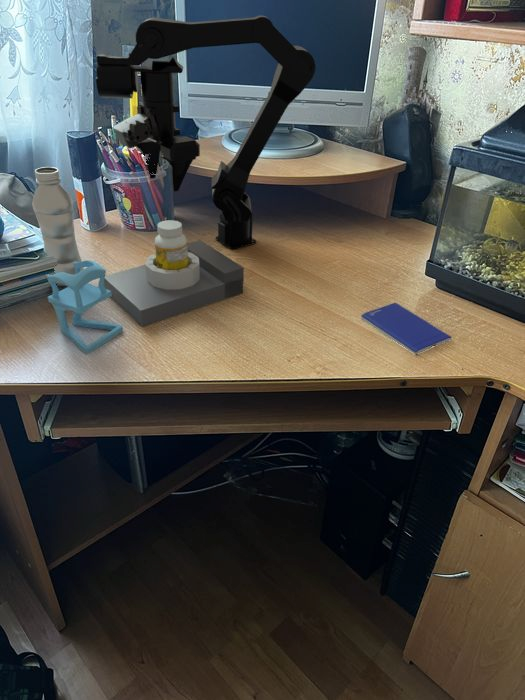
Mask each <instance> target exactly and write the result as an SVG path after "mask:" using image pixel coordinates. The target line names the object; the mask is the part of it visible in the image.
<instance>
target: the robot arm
mask: <svg viewBox="0 0 525 700" xmlns="http://www.w3.org/2000/svg"><path fill="white" fill-rule="evenodd" d="M135 43H136V44H135V46H134V48H133V49H131V50H130V51H129V52H128V56H119V55H118V56H115V55H108V54H98V55H97V56H96V77H95V83H96V88H97V94H98V96H99V97H100V98H102V99H103V98H104V99H115V98H116V99H133V96H134V93H139V74H140V87H141V99H142V103H138V105H137V107H136V108H137V114H134V115H133V116H129V117H127V118H126V119H124V120H122V121H120V122H119V123H117V124H115V125H114V126H113V130H114V133H115V135H116V138H118V141H119V143H120V145H124V146H125V147H127V148H128V149H133V148H136V149H137V150H138V151H139V153H140V152H141V153H142V154H143V155H144V156H145V154H149V153H150V154H151V155H150V154H149V156H148V157H150V159H149V158H148V160H149V161H148V160H147V159H146V160H147V161H146V163H147V164H149V165H147V168H148V171H149V174H150V173H151V174H153V173H154V174H156V175H151V174H150V177H149V179H155V178H157V177H156V176H157V172H158V167H159V161H160V158H161V159H162V161H164V162H165V164H166V165H167V166H168V172H169V177H170V178H169V179H170V185H171V188H172V192H179V191H180V188H181V186H182V184H183V181H184V179H185V177H186V174H187V172H188V170H189V168H190V166H191V165H192V162H193V161H194V160H196V159H197V157H200V156H201V148H200V147H201V145H200V143H199V142H197V140H195V139H193V138H191V137H189V136H186V135H184V136H181V129H179V128H177V127H176V113H180V106H179V105H177V104H175V91H174V90H175V89H174V74H182V73H183V71H184V66H183V65H182V64H181V63H179V61H178V60H177V58H176V57H175V56H174V55H176V54H179V53H181V52H182V53H183V52H184V51H187V50H192V49H195V48H197V49H198V48H208V47H211V48H212V47H222V46H234V45H235V46H236V45H248V44H259V45H260V46H261V47H262V48H263V49H264V50H265V51H266V52H267V53H268V54H269V55H270V56H271V57H272V58H273V59H274V60H275V61H276V62H277V66H276V68H275V73H274V75H273V78H272V79H273V80H272V82H271V86H270V90H269V93H268V94H267V96H266V99H264V102H263V104H262V105H261V107H260V110H259V111H258V113H257V115H256V116H255V118H254V121H253V122H252V124H251V126H250V127H249V130H248V131H247V133H246V134H245V137H244V138H243V140H242V141H241V144H240V146H239V148H238V150H237V152H236V153H235V155H234V156H233V158H232V159H231V160H230V161H229V162H228V163H225V162H224V161H222V160H220V163H219V165H218V168H217V170H216V173H215V174H214V175H213V176H212V177H211V189H212V191H211V192H212V194H211V195H212V202H213V205H214V206H215V208H217V209H218V210H220V211H221V212H220V213H219V220H218V222H217V236H215V240H216V241H218V242H219V243H221V244H222V245H224V246H226V247H227V248H229V249H231V250H235V249H239V248H243V247H247V246H250V245H254V244H256V243H257V240H256V239H255V238H254V237H253V222H254V221H253V218H254V217H253V216H254V215H253V214H254V213H253V212H252V203H251V198H250V196H249V195H248V194H247V193H246V188H247V186H248V183H249V178H250V176H251V172H252V170H253V168H254V166H255V165H256V163H257V161H258V160H259V157H260V156H261V154H262V152H263V150H264V149H265V147H266V145H267V144H268V141H269V139H270V138H271V137H272V135H273V133H274V131H275V129H276V127H277V126H278V125H279V123H280V121H281V119H282V117H283V116H284V113H285V111H286V110H287V109H288V107H289V106H290V104H292V103H293V101H294V100H296V98H297V97H298V96H299V95H301V93H302V92H303V91H304V89H306V87H307V86H308V85H309V84H310V82H311V81H312V80H313V79H314V76H315V74H316V71H317V70H316V69H317V67H316V62H315V61H316V60H315V59H314V57H313V56H312V54H310V53H309V52H308V51H307V49H305V48H304V47H302V46H300V45H293V44H291V42H290V41H289V40H288V39H287V38H286V37H285V36H284V35H283V34H282V33H281V32H280V31H279V30H278V29H277V28H276V27H275V26H274V24H273V22H272V21H271V19H270V18H268V17H267V16H265V15H256V16H255V17H246V18H244V17H243V18H231V19H220V20H218V19H217V20H207V21H195V22H194V21H192V22H189V21H183V20H178V19H177V20H176V19H170V18H162V17H150V18H147V19H145V20H144V21H142V22H141V23H140V25H139V26H138V28H137V29H136V33H135ZM172 55H173V56H172ZM169 56H172V57H171V58H170V59H169V60H158V59H162V58H165V57H169ZM149 59H150V60H151V59H153V60H151V61H152V63H151V65H142V64H143V63H145V62H146V61H147V60H149ZM138 73H139V74H138ZM141 153H140V154H141ZM160 154H162V156H160ZM154 164H155V165H154ZM152 172H153V173H152Z"/></svg>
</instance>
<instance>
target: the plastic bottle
mask: <svg viewBox="0 0 525 700" xmlns="http://www.w3.org/2000/svg"><path fill="white" fill-rule="evenodd" d="M34 174H35V182H36V184H38V186H37V188H36V190H35V192H34V194H33V196H32V204H31V205H32V209H33V211H34V214H35V217H36V220H37V223H38V226H39V228H40V234H41V236H42V240H43V249H45V250H44V252H45V251H46V253H47V254H48V255H50V256H53V257H54V258H55V259H56V260H57V263H58V265H57V266H56V267H55V268H54V270H55V271H54V272H55V273H60V272H64V273H67V274H71V275H75V274H76V271H75V267H74V264H73V262H82V261H83V260H82V257H81V255H80V251H79V249H78V244H77V241H76V235H75V234H76V233H75V225H74V201H73V199H72V197H71V195H70V193H69V192H68V191H67V190H66V188H64V187H63V185H62V184H61V182H62V178H61V176H60V170H59V169H58V167H54V166H43V167H39V168H36V169H35V170H34ZM83 269H85V267H82V268H80V272H81V271H82V270H83ZM57 282H58V281H57ZM57 286H58V287H67V286H66V285H65V284H63V283H61V282H58V284H57Z"/></svg>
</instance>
